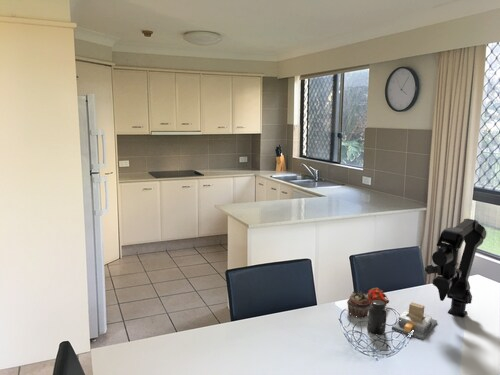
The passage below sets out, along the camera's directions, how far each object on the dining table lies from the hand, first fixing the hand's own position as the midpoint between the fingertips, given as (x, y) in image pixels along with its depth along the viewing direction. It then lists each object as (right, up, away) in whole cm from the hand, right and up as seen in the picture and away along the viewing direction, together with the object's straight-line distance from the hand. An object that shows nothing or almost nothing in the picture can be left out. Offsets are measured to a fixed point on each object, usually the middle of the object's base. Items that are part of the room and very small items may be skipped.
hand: (445, 297), depth 173 cm
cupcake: (-33, -10, +9) cm, 36 cm away
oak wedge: (-12, -11, 0) cm, 16 cm away
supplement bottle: (-30, -12, -5) cm, 32 cm away
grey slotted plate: (-12, -12, 0) cm, 17 cm away
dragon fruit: (-22, -9, +17) cm, 30 cm away
